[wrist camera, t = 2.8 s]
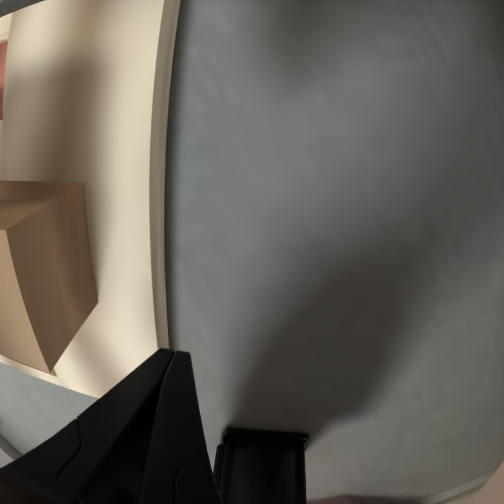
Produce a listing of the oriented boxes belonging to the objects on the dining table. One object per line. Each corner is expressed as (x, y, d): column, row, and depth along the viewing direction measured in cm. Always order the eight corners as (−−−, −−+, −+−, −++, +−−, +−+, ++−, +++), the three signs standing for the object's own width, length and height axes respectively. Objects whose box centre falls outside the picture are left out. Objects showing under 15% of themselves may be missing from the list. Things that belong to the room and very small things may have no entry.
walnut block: (84, 183, 12) (5, 230, 7) (98, 302, 14) (50, 373, 10) (-6, 180, 12) (-77, 218, 7) (14, 283, 15) (-38, 335, 10)
